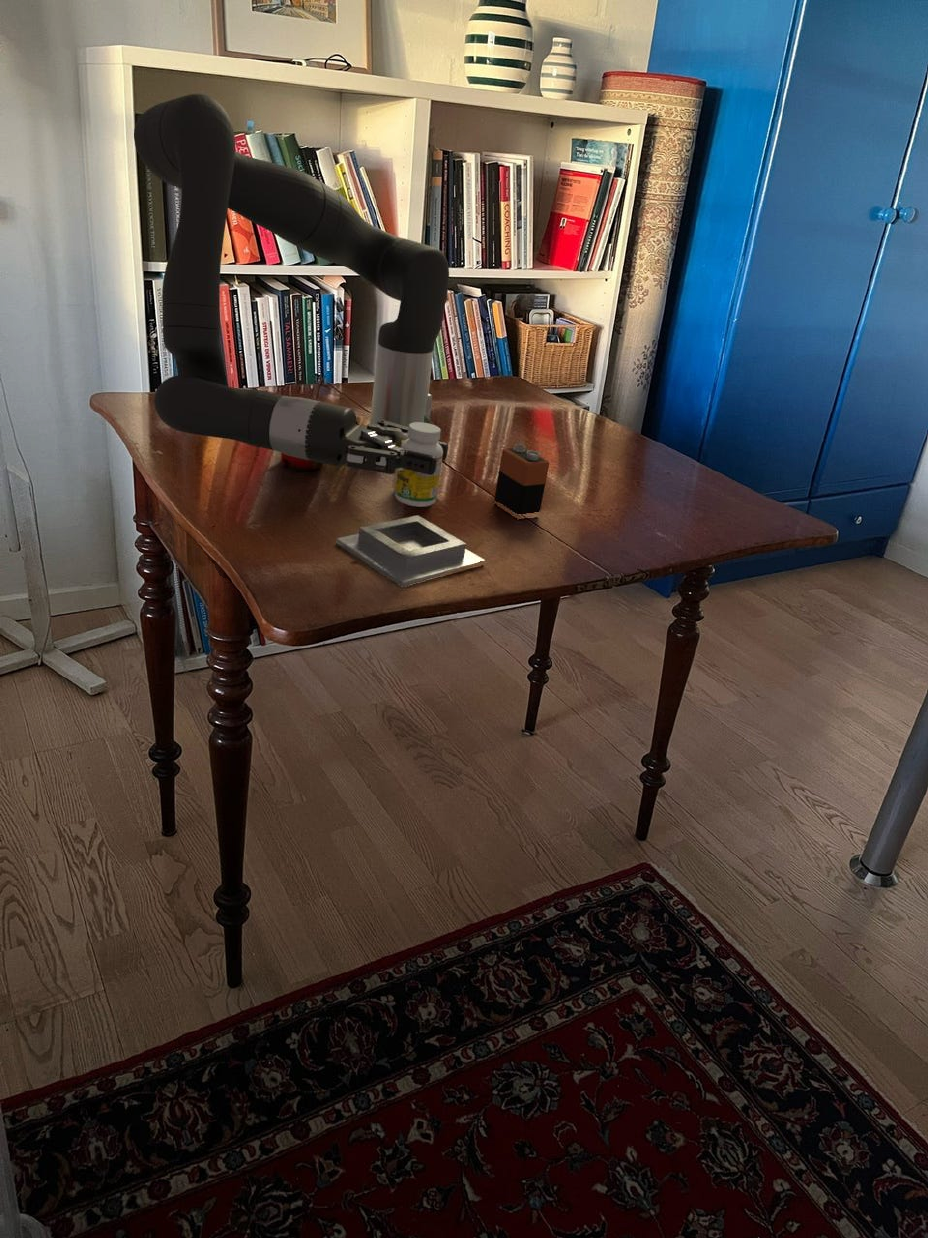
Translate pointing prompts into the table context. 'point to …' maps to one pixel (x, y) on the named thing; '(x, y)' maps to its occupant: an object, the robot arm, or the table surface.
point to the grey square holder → (408, 550)
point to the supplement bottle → (415, 484)
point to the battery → (521, 479)
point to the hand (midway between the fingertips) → (440, 458)
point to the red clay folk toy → (298, 462)
